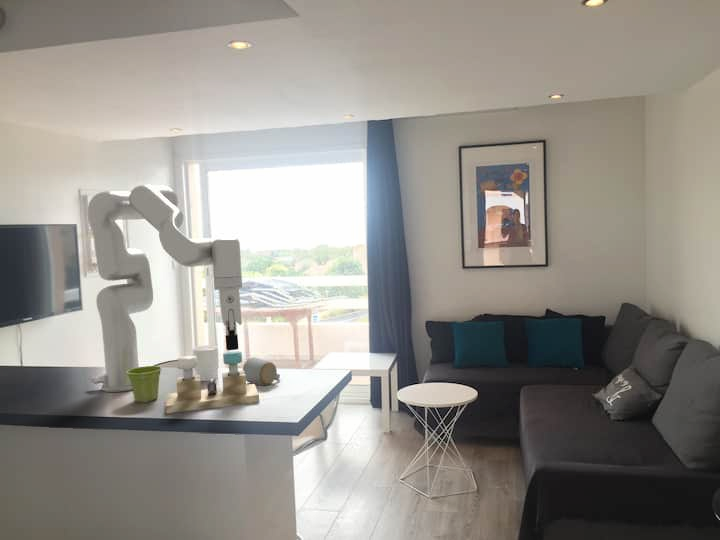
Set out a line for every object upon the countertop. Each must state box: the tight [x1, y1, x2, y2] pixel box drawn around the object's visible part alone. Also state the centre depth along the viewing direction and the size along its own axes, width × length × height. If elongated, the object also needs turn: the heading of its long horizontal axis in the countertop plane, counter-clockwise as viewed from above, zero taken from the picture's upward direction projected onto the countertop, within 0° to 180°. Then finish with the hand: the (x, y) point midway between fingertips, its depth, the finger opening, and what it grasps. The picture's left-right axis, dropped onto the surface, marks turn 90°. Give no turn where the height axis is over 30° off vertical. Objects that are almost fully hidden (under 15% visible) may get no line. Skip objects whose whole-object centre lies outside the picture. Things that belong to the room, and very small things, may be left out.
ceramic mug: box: [242, 356, 281, 386], centre depth 177 cm, size 11×8×8 cm
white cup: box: [192, 344, 219, 382], centre depth 185 cm, size 8×8×10 cm
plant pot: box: [126, 365, 163, 403], centre depth 164 cm, size 9×9×9 cm
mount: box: [165, 369, 260, 414], centre depth 159 cm, size 24×12×7 cm, turn 106°
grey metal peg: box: [206, 379, 218, 396], centre depth 159 cm, size 2×2×4 cm
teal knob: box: [222, 350, 243, 376], centre depth 160 cm, size 5×5×8 cm
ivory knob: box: [177, 355, 197, 381], centre depth 157 cm, size 5×5×8 cm
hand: (232, 349), depth 160 cm, fingers closed
